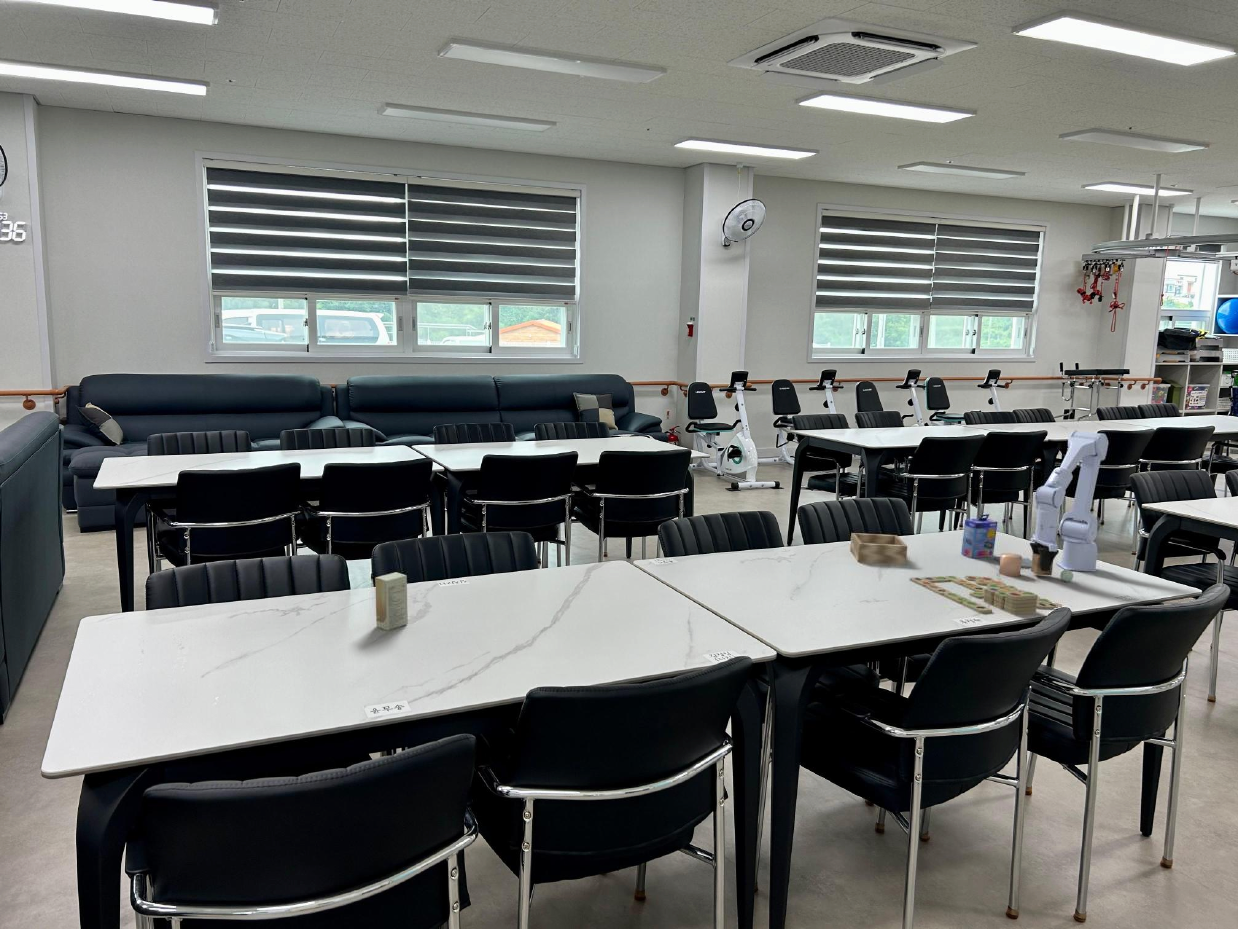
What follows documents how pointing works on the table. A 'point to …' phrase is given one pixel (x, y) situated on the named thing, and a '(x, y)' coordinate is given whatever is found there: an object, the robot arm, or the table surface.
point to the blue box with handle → (979, 537)
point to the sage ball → (1066, 575)
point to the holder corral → (878, 548)
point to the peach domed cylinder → (1010, 564)
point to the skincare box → (391, 601)
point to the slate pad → (1024, 564)
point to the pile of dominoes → (989, 594)
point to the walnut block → (1039, 566)
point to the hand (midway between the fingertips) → (1041, 568)
